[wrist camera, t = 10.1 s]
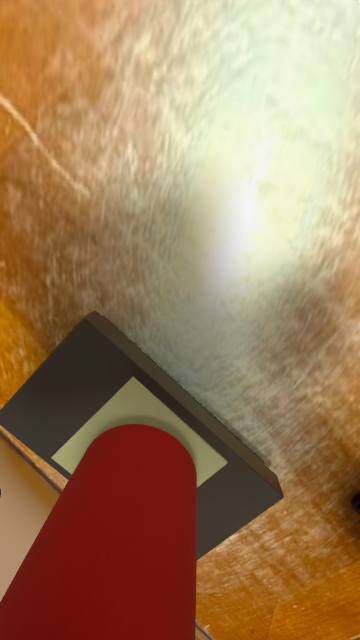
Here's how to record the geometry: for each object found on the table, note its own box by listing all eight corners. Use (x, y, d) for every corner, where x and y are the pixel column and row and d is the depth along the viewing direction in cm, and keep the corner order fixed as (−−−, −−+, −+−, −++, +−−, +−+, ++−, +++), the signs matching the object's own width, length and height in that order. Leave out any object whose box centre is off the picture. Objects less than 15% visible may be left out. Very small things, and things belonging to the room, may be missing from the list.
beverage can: (81, 500, 19) (-104, 899, 7) (91, 405, 17) (-130, 730, 6) (187, 520, 19) (165, 960, 7) (207, 426, 17) (220, 806, 6)
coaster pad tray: (272, 462, 21) (285, 500, 18) (184, 531, 23) (181, 575, 20) (101, 305, 19) (82, 317, 16) (20, 395, 21) (-10, 420, 18)
